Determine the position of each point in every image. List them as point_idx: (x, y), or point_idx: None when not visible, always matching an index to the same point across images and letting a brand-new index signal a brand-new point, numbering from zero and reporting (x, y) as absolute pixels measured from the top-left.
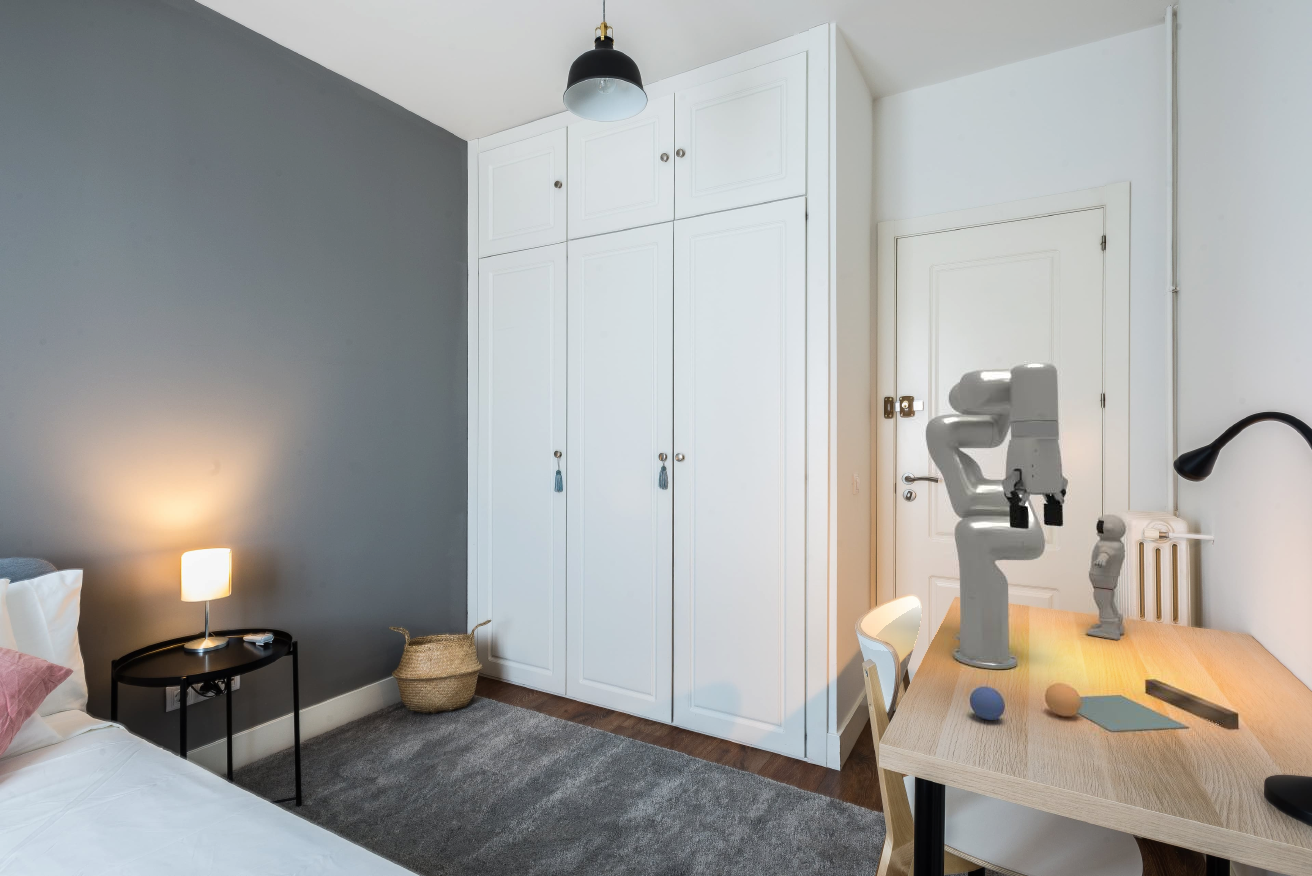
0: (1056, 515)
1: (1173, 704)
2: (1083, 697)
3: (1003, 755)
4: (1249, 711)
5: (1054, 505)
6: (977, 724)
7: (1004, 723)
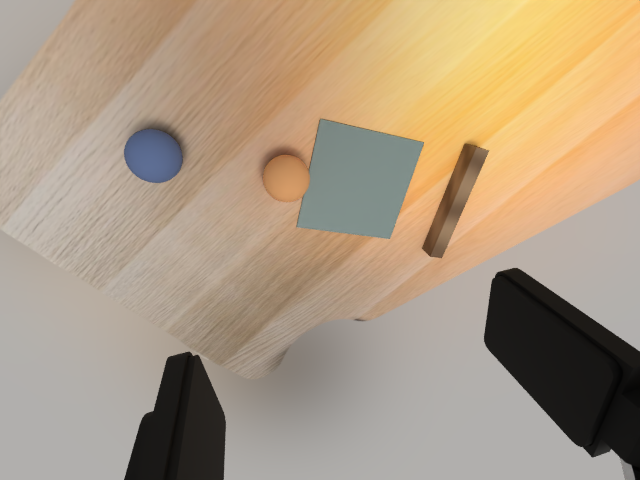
0: (527, 373)
1: (447, 186)
2: (367, 133)
3: (108, 245)
4: (496, 221)
5: (585, 425)
6: None
7: None
